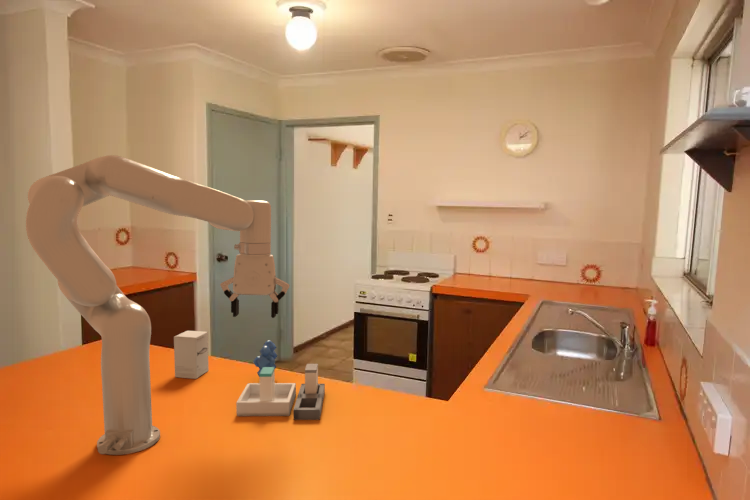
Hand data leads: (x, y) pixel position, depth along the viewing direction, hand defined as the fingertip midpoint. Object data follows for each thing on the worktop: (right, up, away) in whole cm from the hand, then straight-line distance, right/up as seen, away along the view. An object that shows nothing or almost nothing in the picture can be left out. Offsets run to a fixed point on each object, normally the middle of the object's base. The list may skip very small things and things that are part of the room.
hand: (254, 316), depth 132 cm
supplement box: (-25, -21, +25) cm, 41 cm away
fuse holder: (+14, -24, +3) cm, 27 cm away
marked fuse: (+3, -23, +3) cm, 23 cm away
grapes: (-2, -22, +20) cm, 30 cm away
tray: (+3, -24, +3) cm, 24 cm away
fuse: (+14, -23, +7) cm, 28 cm away
